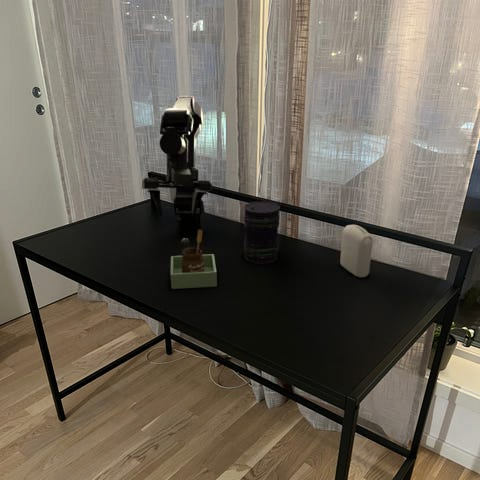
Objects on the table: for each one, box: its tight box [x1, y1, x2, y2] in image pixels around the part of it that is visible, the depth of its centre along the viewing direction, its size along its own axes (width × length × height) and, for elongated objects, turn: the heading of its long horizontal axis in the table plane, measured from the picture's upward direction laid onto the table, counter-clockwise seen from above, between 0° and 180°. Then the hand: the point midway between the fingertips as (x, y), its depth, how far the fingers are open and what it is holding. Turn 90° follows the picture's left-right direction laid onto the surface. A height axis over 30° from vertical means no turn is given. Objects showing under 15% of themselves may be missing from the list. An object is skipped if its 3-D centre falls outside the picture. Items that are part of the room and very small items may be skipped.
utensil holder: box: [180, 229, 204, 273], centre depth 134 cm, size 6×6×12 cm
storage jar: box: [243, 200, 280, 265], centre depth 145 cm, size 10×10×15 cm
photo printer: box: [339, 224, 374, 278], centre depth 137 cm, size 10×4×12 cm, turn 20°
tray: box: [169, 253, 218, 290], centre depth 136 cm, size 12×12×4 cm
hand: (176, 216), depth 143 cm, fingers open, 9 cm apart
